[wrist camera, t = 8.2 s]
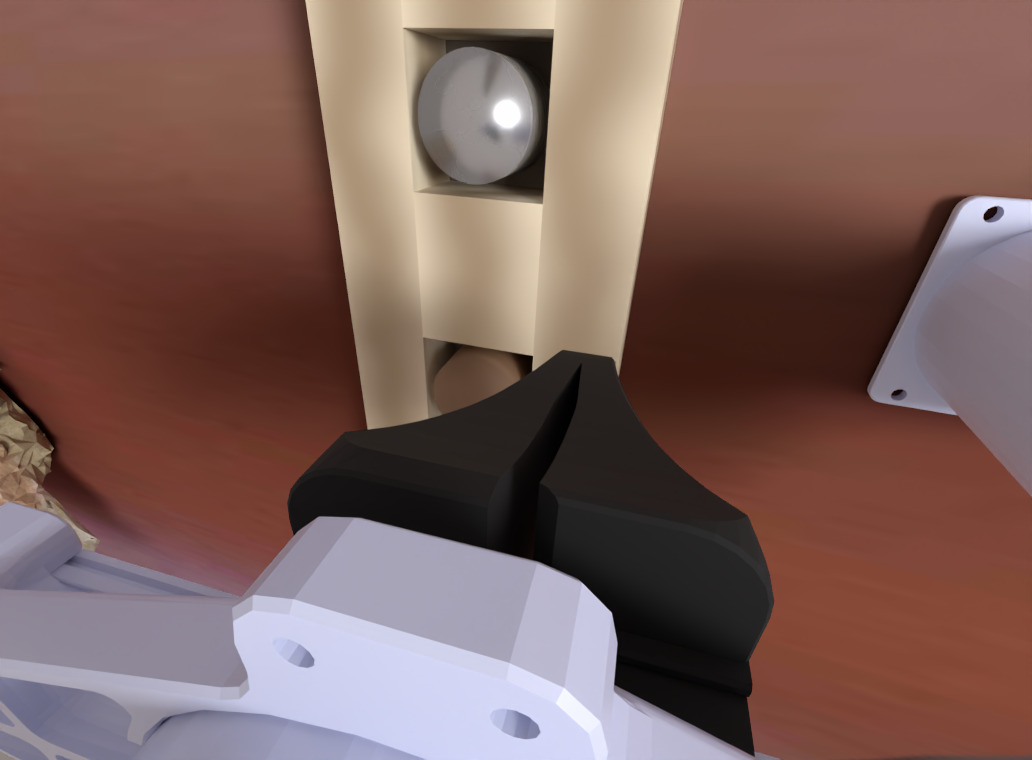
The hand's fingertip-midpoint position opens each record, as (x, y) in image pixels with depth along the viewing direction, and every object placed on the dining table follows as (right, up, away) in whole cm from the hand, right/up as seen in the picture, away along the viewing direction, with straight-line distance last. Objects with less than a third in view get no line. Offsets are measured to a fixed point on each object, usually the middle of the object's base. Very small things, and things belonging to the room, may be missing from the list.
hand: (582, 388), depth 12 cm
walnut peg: (-3, +1, +12) cm, 13 cm away
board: (-2, +6, +10) cm, 12 cm away
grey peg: (-2, +10, +7) cm, 13 cm away
